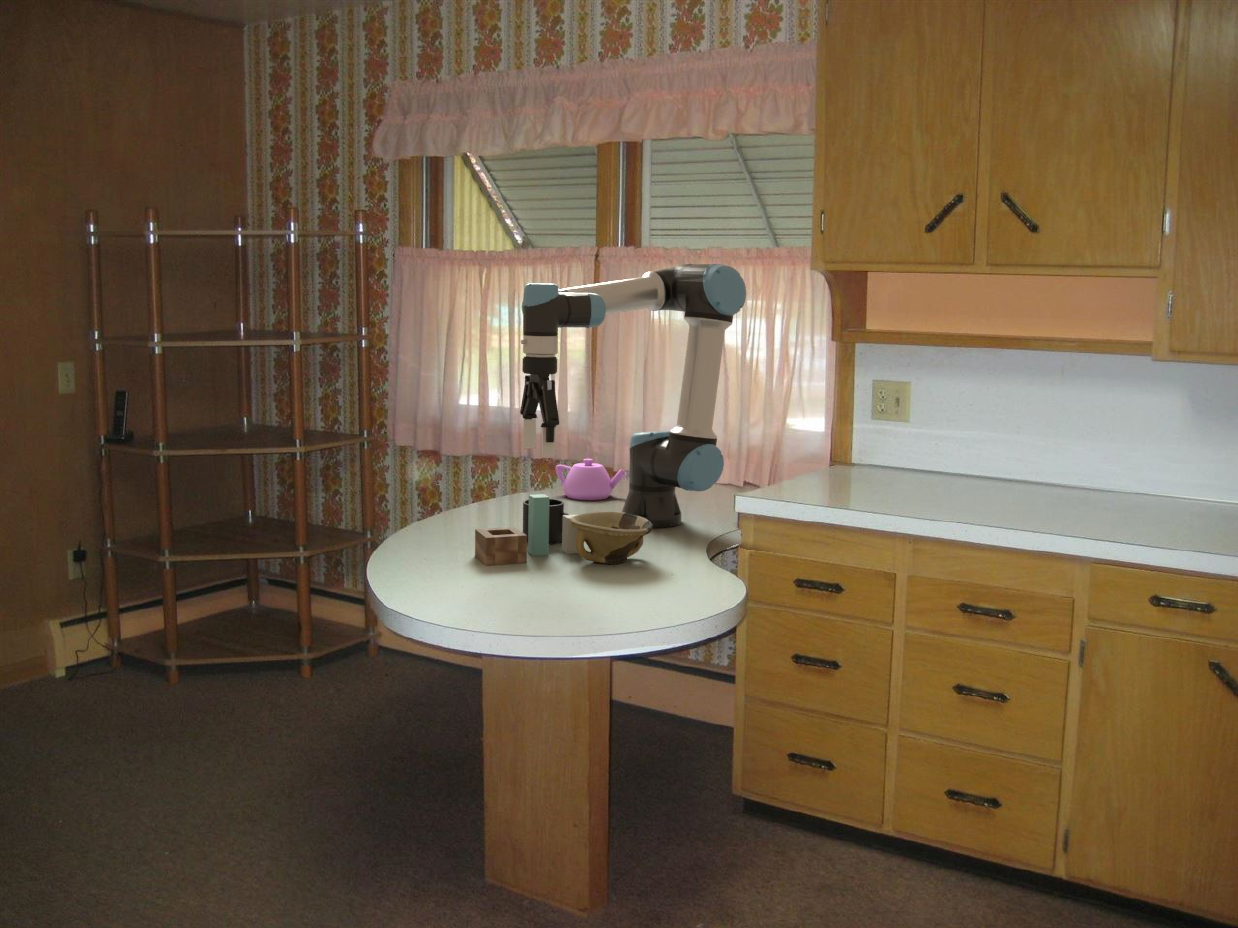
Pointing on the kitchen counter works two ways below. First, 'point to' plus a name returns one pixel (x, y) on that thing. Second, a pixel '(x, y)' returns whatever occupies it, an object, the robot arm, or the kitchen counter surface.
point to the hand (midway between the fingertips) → (538, 452)
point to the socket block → (500, 546)
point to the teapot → (588, 480)
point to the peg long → (538, 525)
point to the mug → (554, 520)
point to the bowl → (609, 535)
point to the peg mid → (569, 535)
